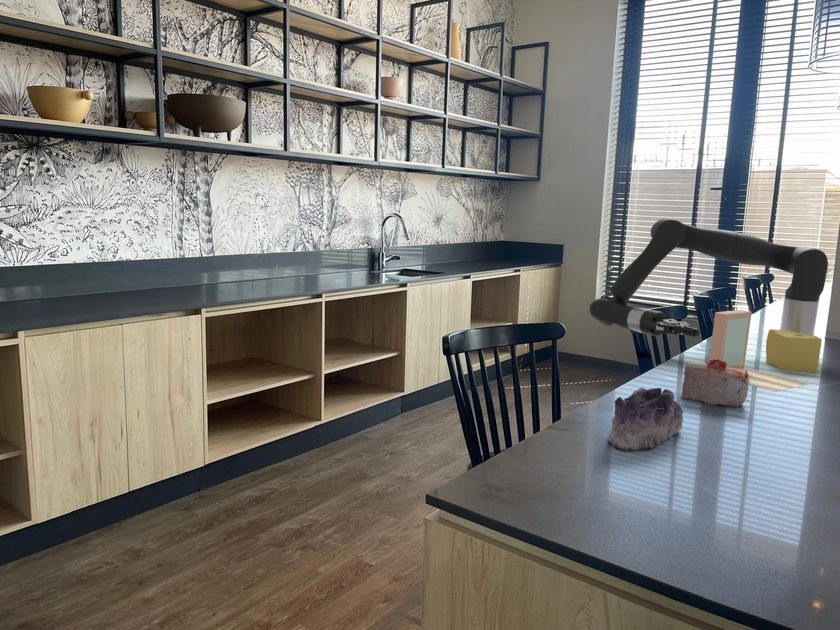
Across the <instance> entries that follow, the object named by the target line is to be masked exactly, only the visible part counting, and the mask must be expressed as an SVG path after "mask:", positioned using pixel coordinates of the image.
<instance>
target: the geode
mask: <svg viewBox="0 0 840 630" xmlns="http://www.w3.org/2000/svg"><path fill="white" fill-rule="evenodd" d="M675 398H676V396H675V394H674V392H673V391H672V390H670V389H666V388H665V389H664V390H663V391H662V388H661V387H654V388H650V389H648V388H647V389H645V388H644V387H639V388H638V389H636V390H635V391H633V392H632V394H631V395H629V396H627V397H625V398H624V399H623V398H622V396H618V398H616V399H615V400H614V402H613V403H614V415H613V418H612V420H611V427H610V431H609V434H608V437H607V441H608V445H610V446H611V447H612V448H613V449H615V450H618V451H620V452H624V453H625V452H628V453H629V452H647V451H650V450H652V449H654V448H656V447H657V446H659V445H660V444H662V443H664V442H666V441H667V440H670V439H671V438H672V437H673V436H675V435H676V434H677V433H678V432H679V431H681V430H682V428H683V422H684V411H683V409H682V407H681V406H680V405H679V403H678V402H677V401H676V400H675Z"/></svg>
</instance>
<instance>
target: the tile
mask: <svg viewBox="0 0 840 630" xmlns="http://www.w3.org/2000/svg"><path fill="white" fill-rule="evenodd" d="M752 313H753V312H752V311H748V310H744V309H737V310H729V311H717V312H716V311H715V313H714V319H713V328H712V334H711V335H712V336H711V342H710V344H711V345H710V350H709V351H710V352H709V360H708V364H709V363H710V360H712V359H714V360H716V359H717V360H720V361H722V362H723V361H724V362H726V363H727V366H726V367H729V368H736V369H744V367H745V362H746V358H747V357H746V355H747V349H748V348H747V347H748V341H749V335H750V328H751V321H752Z"/></svg>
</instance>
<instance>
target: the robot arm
mask: <svg viewBox="0 0 840 630" xmlns="http://www.w3.org/2000/svg"><path fill="white" fill-rule="evenodd" d="M650 238H651V240H650V241H649V243H648V244H647V246H646V247H645V248H644V250H642V252H641V253H640V254H639V256H637V258H635V259H634V260H633V261H632V262H631V263H630V264H629V265H628V266H627V267H626V268H625V269H624V270H623V271H622V272H621V274H620V275H619V276H618V277H617V278H616V280H615V281H614V282H613V284H612V285H611V286H610V289H609V291H610V293H611V294H612V298H611V300H610V299H608V298H607V299H606V298H598V299H597V298H596V299H594V300H593V301H592V302H591V303H590V305H589V314H590V315H591V317H592V318H594V319H595V320H596V321H598V322H600V323H601V324H603V325H604V326H612V325H617V326H618V327H621V328H624V329H627V330H632V331H634V332H637V333H640V334H644V335H650V336H653V337H659V336H661V335H663V334H667V335H668V334H669V335H675V336H677V335H681V336H683V335H686V336H690V337H699V335H700V329H699V328H697V327H692V326H691V324H689V323H688V322H686V321H683V320H682V321H679V320H678V321H677V320H675V319H673V318H667V316H666V314H665V312H662V311H659V310H654V309H650V308H649V309H648V308H644V307H635V306H631V305H628V303H629V301H630V299H631V298H632V296H634V294H635V293H636V292H637V290H639V288H640V287H641V285H643V283H644V282H645V280H646V279H647V278H648V277H649V276H650V274H651V273H652V272H653V270H654V269H655V268H656V267H657V266H658V265H659V264H660V263H661V262H662V261H663V260H664V259H665V258H666V257H667V256H668V255H669V254H670V253H671V252H672V251H674V249H676V248H677V249H678V248H679V249H684V250H691V251H693V252H698V253H700V254H702V255H706V256H709V257H712V258H715V259H718V260H722V261H726V262H730V263H735V264H740V265H746V266H748V265H749V266H762V267H770V268H773V269H776V270H780V271H784V272H786V273H789V274H791V275H792V279H791V283H790V285H789V286H788V288H786V289H785V293H784V299H783V305H782V306H783V307H782V314H781V322H780V327H779V330H784V331H792V332H796V333H802V334H811V335H814V336H815V329H816V322H817V321H816V320H817V316H818V315H817V314H818V309H819V304H820V303H819V301H820V297H821V295H822V293H823V291H824V289H825V284H826V279H827V274H828V269H829V258H828V257H827V255H826V253H825V252H824V251H822V250H821V249H819V248H816V247H815V248H814V247H808V246H794V245H793V246H792V245H785V244H778V243H773V242H770V241H768V240H765V239H762V238H760V237H757V236H755V235H754V236H753V235H751V234H747V233H741V232H737V231H732V230H725V229H717V228H705V227H704V228H703V227H698V226H697V227H696V226H693V225H690V224H686V223H683V222H682V221H680V220H678V219H677V218H676V219H675V218H670V217H665V218H661V219H658V220H657V221H655V223H654V224H652V227H651V228H650Z"/></svg>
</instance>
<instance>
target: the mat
mask: <svg viewBox="0 0 840 630" xmlns="http://www.w3.org/2000/svg"><path fill="white" fill-rule="evenodd" d="M741 370H747V372H748V376H749V385H750V386H754V387H758V388H762V389H765V390H769V391H772V392H775V393H776V392H780V391H781V392H782V391H785V390H789V389H793V388H798V387H803V386H806V385H807V386H808V385H810V383H808V382H805V381H801V380H797V379H792V378H789V377H785V376H780V375H776V374H772V373H769V372H765V371H760V370H757V369H753V368H748V367H745V366H744V369H741Z"/></svg>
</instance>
